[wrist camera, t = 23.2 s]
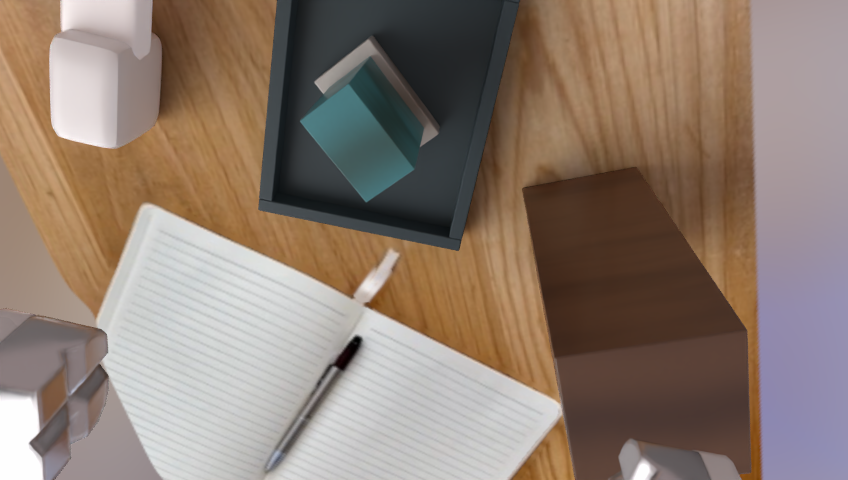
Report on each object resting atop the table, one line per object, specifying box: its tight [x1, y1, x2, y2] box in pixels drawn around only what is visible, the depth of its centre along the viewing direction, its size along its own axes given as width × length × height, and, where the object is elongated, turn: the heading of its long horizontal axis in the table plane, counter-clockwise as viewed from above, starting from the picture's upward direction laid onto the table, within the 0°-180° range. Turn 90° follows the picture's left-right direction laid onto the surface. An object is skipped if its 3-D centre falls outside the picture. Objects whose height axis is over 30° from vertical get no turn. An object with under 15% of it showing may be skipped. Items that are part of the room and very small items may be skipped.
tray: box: [258, 0, 520, 251], centre depth 38 cm, size 16×13×2 cm
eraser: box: [300, 35, 440, 202], centre depth 35 cm, size 6×4×8 cm, turn 37°
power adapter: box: [50, 0, 162, 149], centre depth 36 cm, size 11×5×6 cm, turn 167°
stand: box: [522, 167, 751, 480], centre depth 34 cm, size 7×7×18 cm
